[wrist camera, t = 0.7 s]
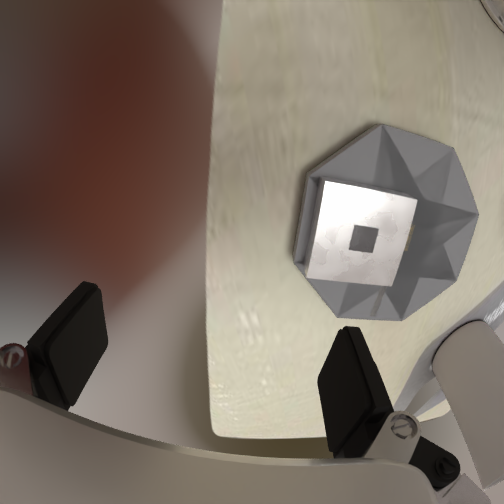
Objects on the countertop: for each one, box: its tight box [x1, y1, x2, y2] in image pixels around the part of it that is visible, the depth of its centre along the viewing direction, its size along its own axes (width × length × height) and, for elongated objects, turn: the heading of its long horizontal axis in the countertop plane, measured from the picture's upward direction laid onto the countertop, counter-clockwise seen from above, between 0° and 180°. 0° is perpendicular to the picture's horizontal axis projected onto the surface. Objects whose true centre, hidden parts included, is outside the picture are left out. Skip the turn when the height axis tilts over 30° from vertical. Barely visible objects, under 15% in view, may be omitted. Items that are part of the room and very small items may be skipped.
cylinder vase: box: [432, 321, 504, 491], centre depth 25 cm, size 12×12×25 cm
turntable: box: [293, 124, 479, 321], centre depth 28 cm, size 21×21×2 cm
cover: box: [303, 176, 417, 286], centre depth 26 cm, size 9×9×3 cm
